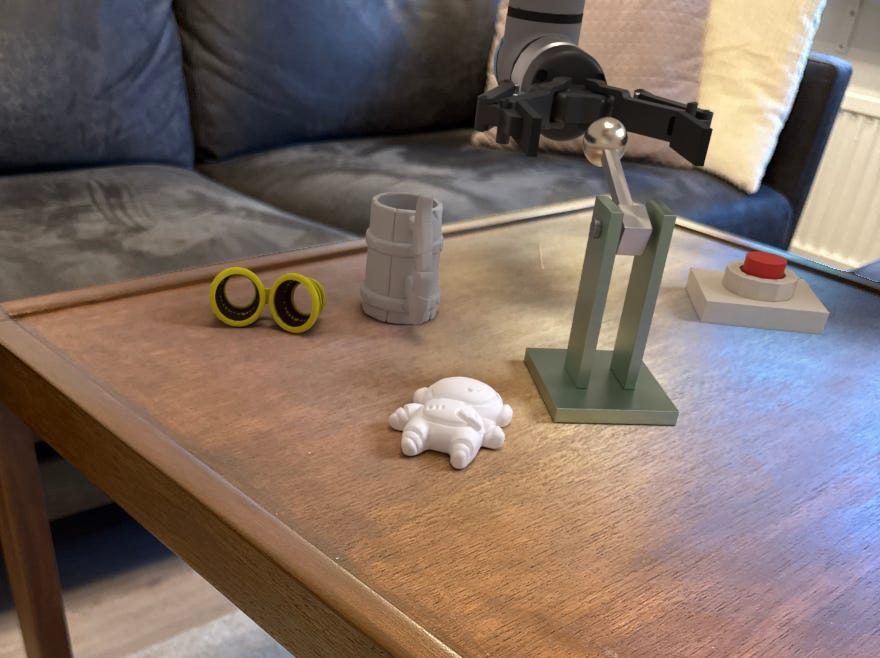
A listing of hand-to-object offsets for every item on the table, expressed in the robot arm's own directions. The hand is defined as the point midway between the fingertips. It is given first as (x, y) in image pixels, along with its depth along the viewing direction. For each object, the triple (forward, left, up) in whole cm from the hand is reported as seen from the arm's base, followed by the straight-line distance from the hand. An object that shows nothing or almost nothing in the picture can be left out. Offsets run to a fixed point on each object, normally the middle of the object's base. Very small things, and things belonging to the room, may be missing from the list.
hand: (620, 142), depth 76 cm
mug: (+16, -6, -18) cm, 25 cm away
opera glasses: (+28, -2, -18) cm, 33 cm away
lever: (0, 0, -4) cm, 4 cm away
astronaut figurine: (+11, +16, -18) cm, 27 cm away
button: (-19, -18, -14) cm, 30 cm away
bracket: (-1, +6, -18) cm, 19 cm away
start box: (-19, -18, -18) cm, 31 cm away
